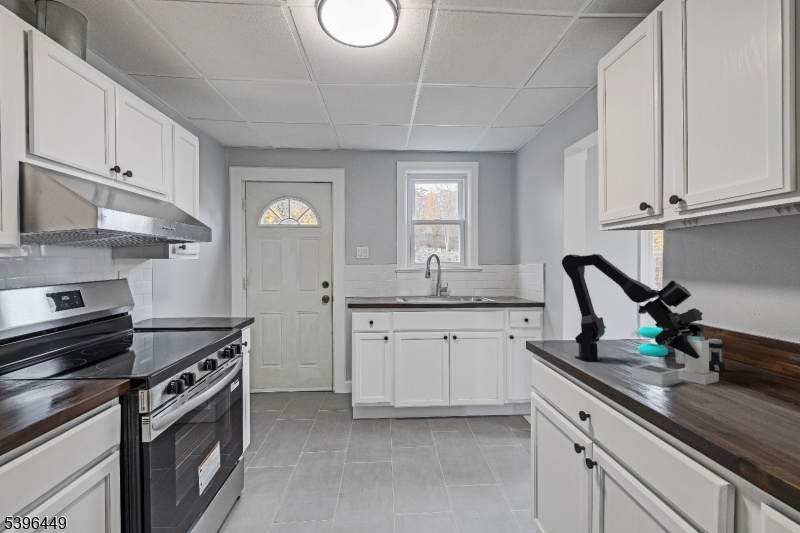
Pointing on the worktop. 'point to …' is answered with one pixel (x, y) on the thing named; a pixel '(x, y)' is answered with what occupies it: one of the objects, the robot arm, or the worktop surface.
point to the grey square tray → (698, 377)
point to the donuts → (651, 348)
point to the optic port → (655, 375)
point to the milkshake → (679, 357)
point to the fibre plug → (703, 351)
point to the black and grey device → (716, 355)
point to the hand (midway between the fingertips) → (702, 357)
